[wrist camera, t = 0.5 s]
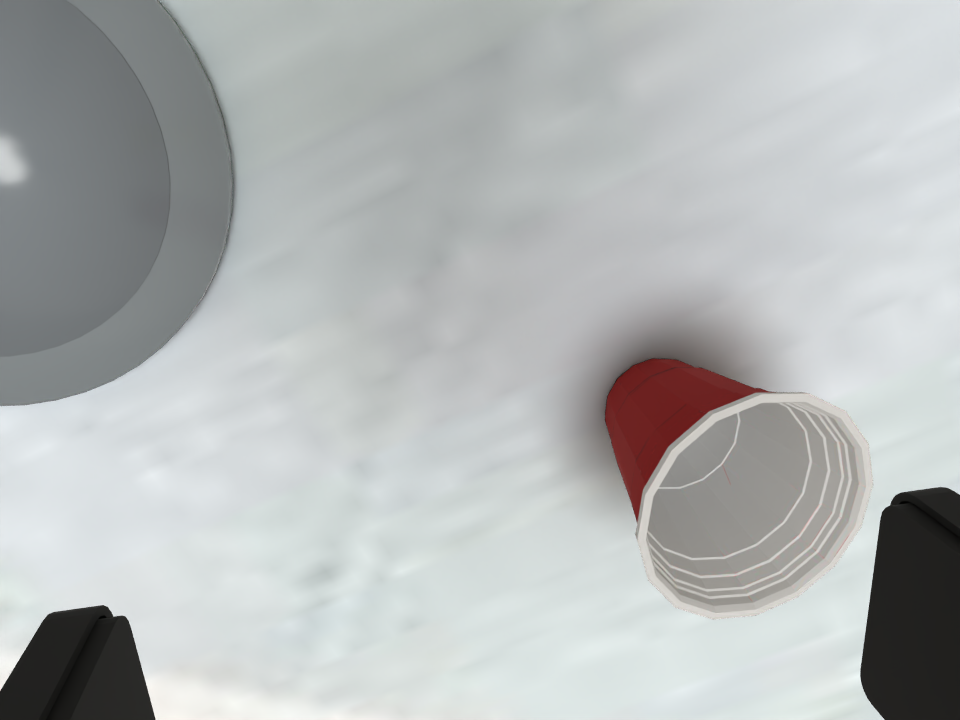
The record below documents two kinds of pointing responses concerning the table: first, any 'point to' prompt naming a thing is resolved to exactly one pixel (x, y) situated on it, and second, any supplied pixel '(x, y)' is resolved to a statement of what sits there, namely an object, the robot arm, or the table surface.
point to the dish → (102, 191)
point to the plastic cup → (735, 486)
